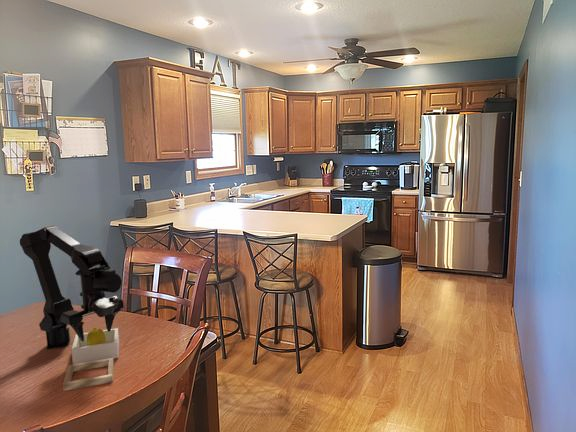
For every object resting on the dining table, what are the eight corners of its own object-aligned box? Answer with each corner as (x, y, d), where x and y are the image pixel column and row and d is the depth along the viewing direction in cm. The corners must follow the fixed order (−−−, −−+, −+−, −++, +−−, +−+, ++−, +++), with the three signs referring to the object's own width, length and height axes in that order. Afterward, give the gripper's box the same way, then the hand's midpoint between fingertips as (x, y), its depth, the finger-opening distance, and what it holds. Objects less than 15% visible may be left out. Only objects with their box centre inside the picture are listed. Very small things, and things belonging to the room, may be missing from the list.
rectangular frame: (63, 390, 122) (63, 384, 121) (69, 370, 133) (68, 364, 133) (112, 381, 126) (112, 375, 125) (113, 363, 137) (113, 357, 137)
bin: (73, 365, 136) (71, 349, 136) (77, 348, 149) (76, 334, 148) (118, 357, 141) (117, 342, 140) (119, 342, 153) (118, 328, 152)
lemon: (85, 351, 145) (83, 327, 144) (103, 346, 148) (101, 322, 147) (90, 356, 141) (88, 332, 140) (108, 351, 144) (106, 327, 143)
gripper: (77, 301, 130) (82, 352, 132) (132, 285, 145) (136, 331, 147) (57, 295, 136) (62, 344, 138) (112, 280, 151) (116, 324, 153)
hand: (96, 336), depth 144 cm, fingers open, 9 cm apart
